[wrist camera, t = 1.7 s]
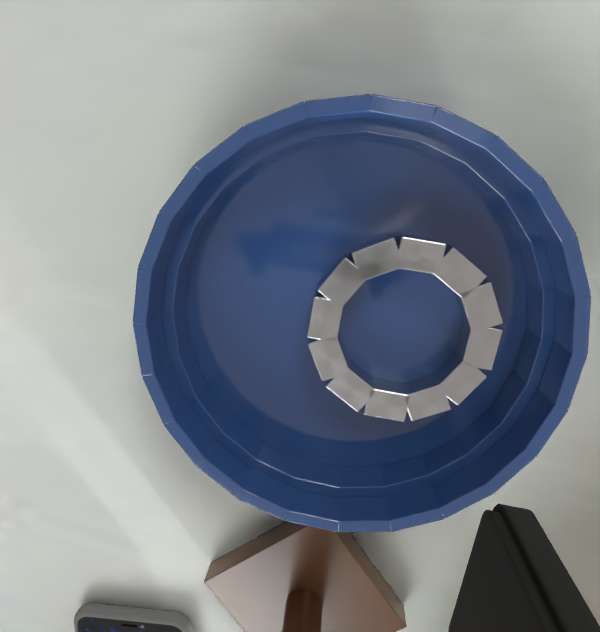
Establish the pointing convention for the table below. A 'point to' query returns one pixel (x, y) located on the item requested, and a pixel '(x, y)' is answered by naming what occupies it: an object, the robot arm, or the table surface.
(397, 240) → the ring
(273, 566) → the peg board base
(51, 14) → the table surface
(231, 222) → the bowl
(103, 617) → the smartphone
